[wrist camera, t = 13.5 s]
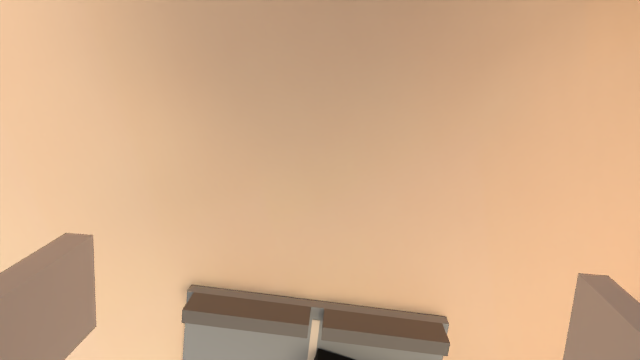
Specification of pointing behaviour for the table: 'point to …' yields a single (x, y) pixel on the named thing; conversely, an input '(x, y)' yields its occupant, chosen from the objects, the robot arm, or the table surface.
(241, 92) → the table surface
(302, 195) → the table surface
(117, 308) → the table surface
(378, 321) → the docking board
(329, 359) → the digital camera
